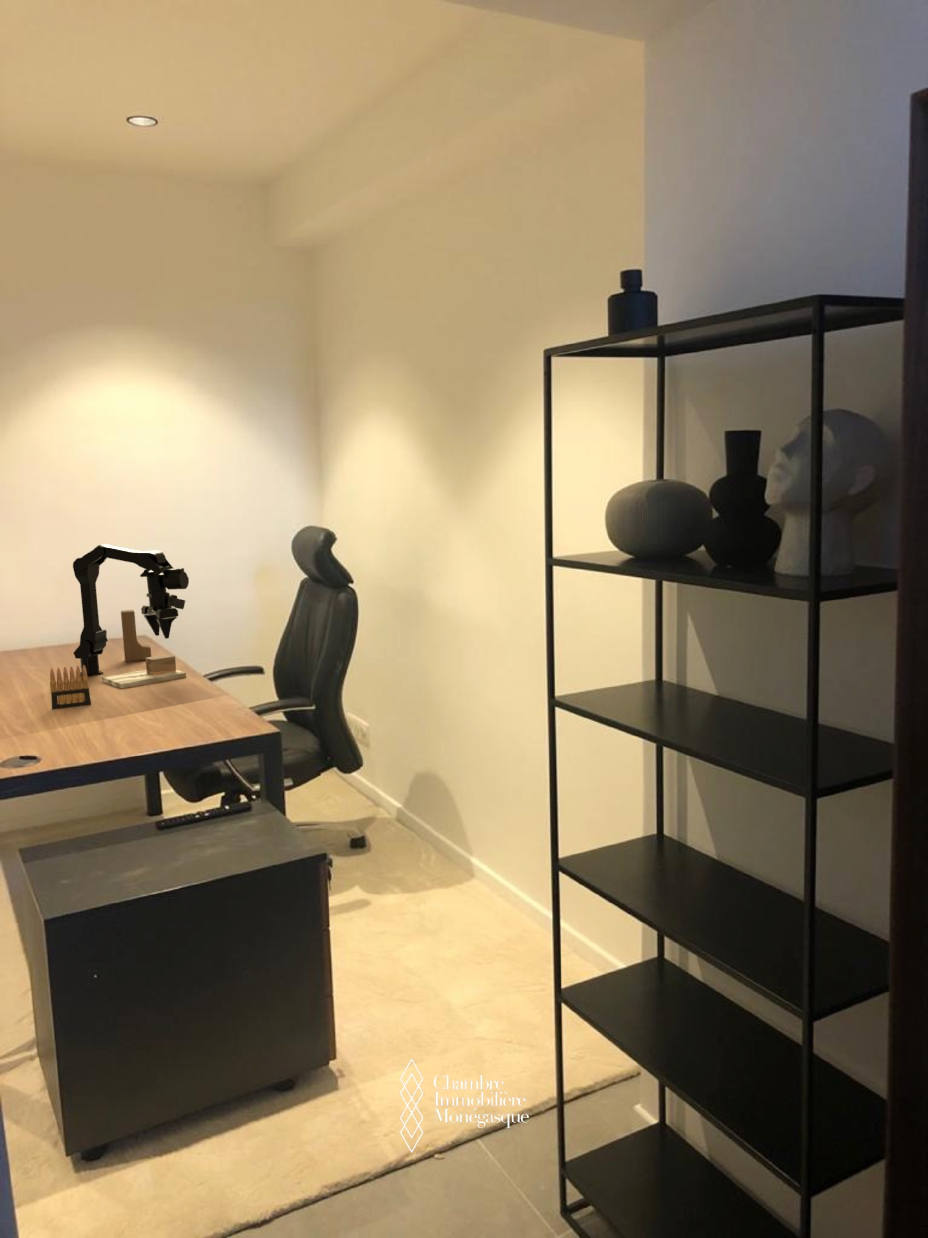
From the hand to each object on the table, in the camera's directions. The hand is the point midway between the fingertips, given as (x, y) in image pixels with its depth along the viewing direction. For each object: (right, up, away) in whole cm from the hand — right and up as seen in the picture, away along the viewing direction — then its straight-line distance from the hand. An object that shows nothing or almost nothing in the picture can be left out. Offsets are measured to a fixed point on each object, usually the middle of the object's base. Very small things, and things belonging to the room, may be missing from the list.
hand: (162, 637), depth 334 cm
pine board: (-5, -14, -2) cm, 15 cm away
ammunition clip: (-16, -20, -37) cm, 44 cm away
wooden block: (-18, -9, +32) cm, 38 cm away
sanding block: (-1, -12, +2) cm, 12 cm away
